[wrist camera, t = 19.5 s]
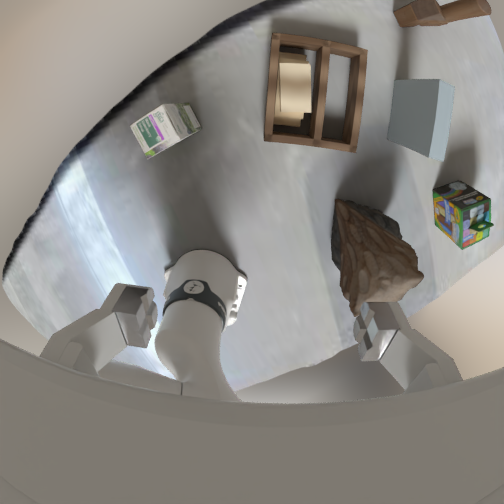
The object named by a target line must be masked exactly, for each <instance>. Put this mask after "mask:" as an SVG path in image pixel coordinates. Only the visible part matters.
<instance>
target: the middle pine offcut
mask: <svg viewBox="0 0 504 504" xmlns="http://www.w3.org/2000/svg"><path fill="white" fill-rule="evenodd" d="M279 63H300V64H309V61H302V60H295V59H287V58H279V61H278V73H277V84H276V97H275V109H274V116H282V117H291V118H299V119H303V115H304V112H280V85H279Z"/></svg>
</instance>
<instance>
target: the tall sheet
mask: <svg viewBox="0 0 504 504" xmlns="http://www.w3.org/2000/svg"><path fill="white" fill-rule="evenodd" d="M454 90H455V86H453V85H450V84H448V83H446V82H444V81H442V80H440V79H412V80H394V90H393V99H392V108H391V115H390V122H389V129H388V135H387V139H388V140H390V141H393V142H395V143H398V144H400V145H402V146H405V147H407V148H409V149H412V150H414V151H416V152H418V153H420V154H422V155H425V156H427V157H429V158H432V159H435V160H439V161H442V162H444V157H445V152H446V147H447V142H448V136H449V130H450V124H451V117H452V109H453V100H454Z"/></svg>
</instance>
